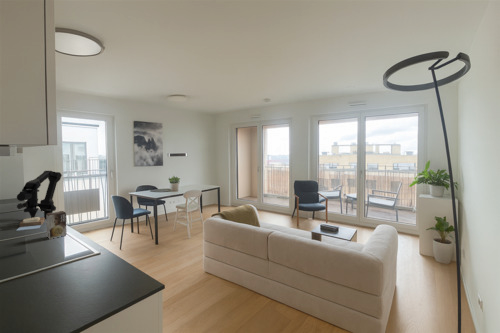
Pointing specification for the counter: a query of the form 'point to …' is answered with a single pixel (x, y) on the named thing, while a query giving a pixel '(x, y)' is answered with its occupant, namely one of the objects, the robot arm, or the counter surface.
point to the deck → (32, 223)
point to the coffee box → (56, 224)
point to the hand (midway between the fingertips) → (32, 218)
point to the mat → (28, 227)
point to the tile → (31, 220)
